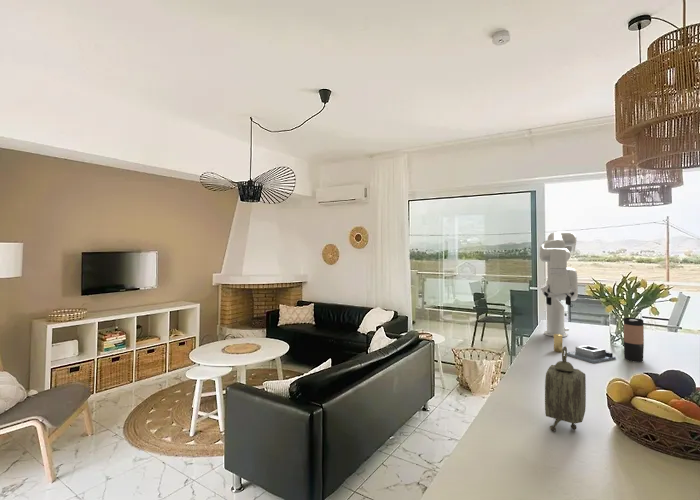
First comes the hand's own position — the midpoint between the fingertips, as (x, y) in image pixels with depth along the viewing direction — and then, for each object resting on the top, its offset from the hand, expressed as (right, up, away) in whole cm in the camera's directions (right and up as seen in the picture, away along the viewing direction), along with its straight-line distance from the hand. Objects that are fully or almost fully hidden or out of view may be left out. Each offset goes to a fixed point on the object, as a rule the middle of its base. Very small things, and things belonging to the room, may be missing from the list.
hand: (558, 304), depth 182 cm
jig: (+12, -26, -6) cm, 29 cm away
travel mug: (+30, -26, -11) cm, 41 cm away
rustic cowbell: (-42, -27, -73) cm, 89 cm away
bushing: (+2, -26, +4) cm, 26 cm away
